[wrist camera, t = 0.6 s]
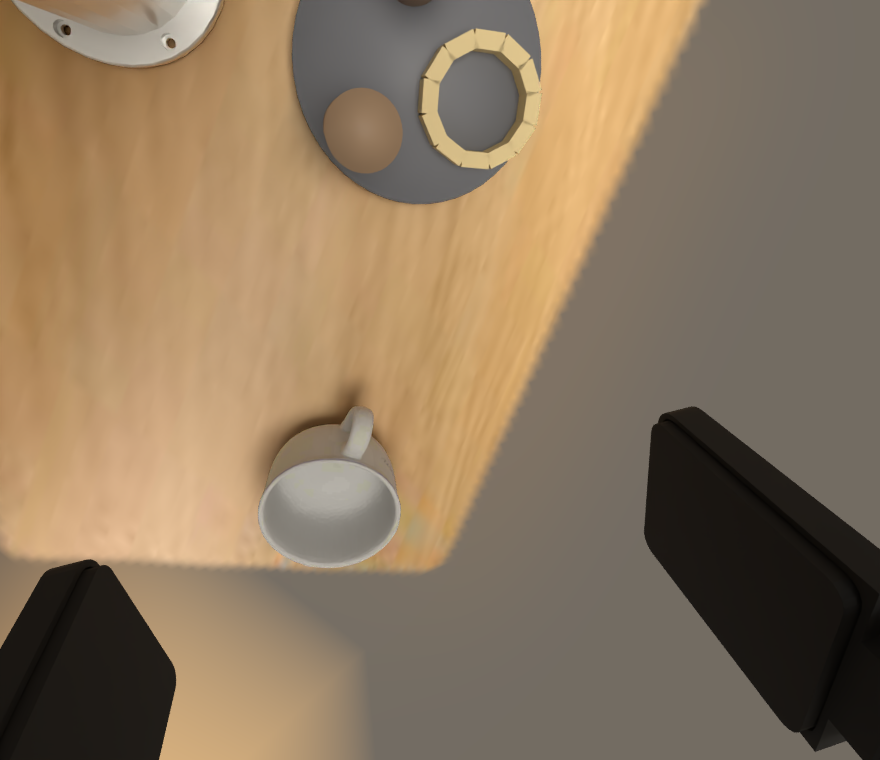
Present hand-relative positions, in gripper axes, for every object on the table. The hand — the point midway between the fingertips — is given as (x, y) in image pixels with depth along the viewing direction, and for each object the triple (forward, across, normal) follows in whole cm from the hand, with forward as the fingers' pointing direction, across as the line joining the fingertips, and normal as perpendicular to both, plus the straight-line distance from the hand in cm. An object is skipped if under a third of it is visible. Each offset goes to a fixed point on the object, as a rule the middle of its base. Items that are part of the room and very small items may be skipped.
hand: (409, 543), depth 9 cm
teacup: (+33, +4, +20) cm, 39 cm away
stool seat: (+33, -7, -8) cm, 35 cm away
